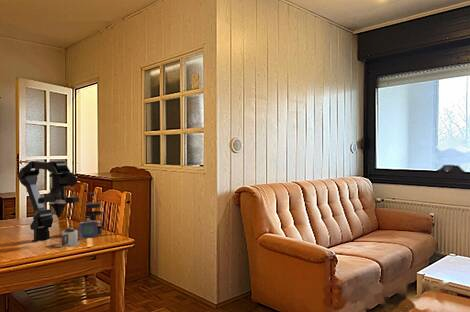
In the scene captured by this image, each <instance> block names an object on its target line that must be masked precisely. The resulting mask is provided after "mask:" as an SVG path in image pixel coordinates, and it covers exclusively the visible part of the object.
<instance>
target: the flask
mask: <svg viewBox="0 0 470 312" xmlns="http://www.w3.org/2000/svg"><path fill="white" fill-rule="evenodd" d="M97 221H98V220H96V221H94V220H93V221H92V220H91V219H90V218H89V217H88V218H86V219H85V221H81V222H79V223H78V240H84V239H91V238H97V237H98V236H99V235H98V226H99V224H98V222H97Z"/></svg>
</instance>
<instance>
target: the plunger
mask: <svg viewBox="0 0 470 312" xmlns="http://www.w3.org/2000/svg"><path fill="white" fill-rule="evenodd" d="M73 230H74V226H73V227H71V226H69V227H66V228H65V229H64V231H69V232H70V231H73Z"/></svg>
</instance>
